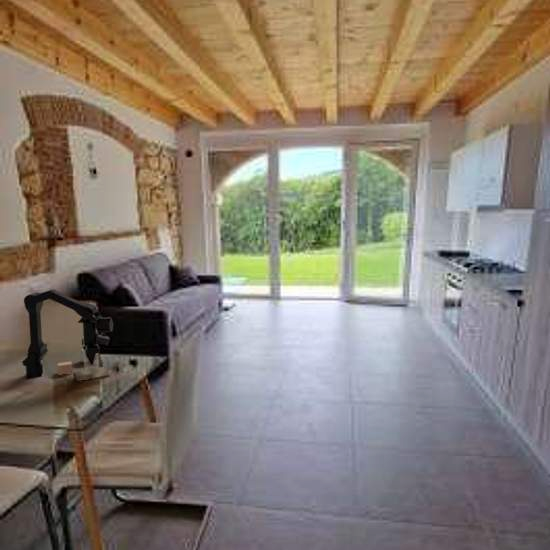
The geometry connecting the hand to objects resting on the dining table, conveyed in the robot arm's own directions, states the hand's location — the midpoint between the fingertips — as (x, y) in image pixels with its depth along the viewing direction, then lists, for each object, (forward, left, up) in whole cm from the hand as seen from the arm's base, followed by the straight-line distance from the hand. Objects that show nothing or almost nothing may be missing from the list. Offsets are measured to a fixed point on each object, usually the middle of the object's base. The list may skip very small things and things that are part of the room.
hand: (91, 362), depth 198 cm
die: (0, +19, -6) cm, 20 cm away
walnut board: (0, 0, -6) cm, 6 cm away
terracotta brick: (-11, +8, -6) cm, 15 cm away
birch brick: (0, 0, -1) cm, 1 cm away
